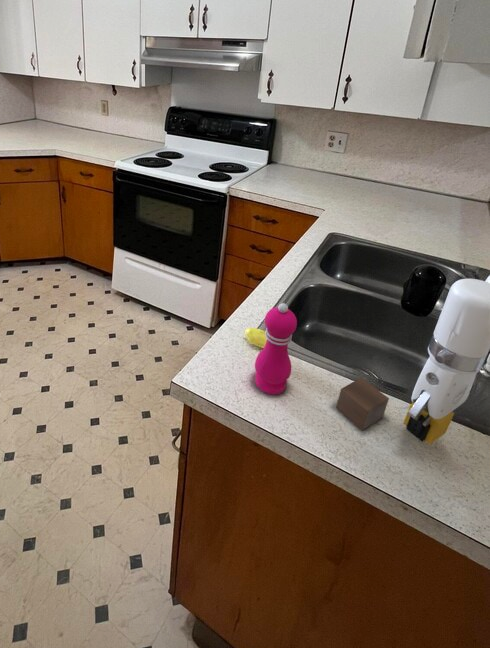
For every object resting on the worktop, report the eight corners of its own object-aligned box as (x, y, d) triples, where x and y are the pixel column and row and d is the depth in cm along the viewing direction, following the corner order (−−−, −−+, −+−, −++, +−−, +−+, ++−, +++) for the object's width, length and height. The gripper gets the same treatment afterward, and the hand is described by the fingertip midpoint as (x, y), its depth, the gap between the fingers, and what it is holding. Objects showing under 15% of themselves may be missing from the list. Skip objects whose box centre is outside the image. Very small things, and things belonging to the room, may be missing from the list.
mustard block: (419, 412, 80) (426, 393, 78) (445, 432, 76) (454, 413, 74) (402, 423, 78) (410, 404, 76) (429, 444, 74) (438, 424, 72)
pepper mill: (245, 376, 90) (256, 298, 81) (272, 366, 93) (285, 289, 84) (267, 401, 84) (281, 320, 75) (295, 389, 87) (312, 309, 78)
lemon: (269, 357, 95) (272, 344, 93) (240, 340, 100) (242, 327, 98) (279, 348, 98) (282, 335, 96) (250, 332, 103) (252, 319, 101)
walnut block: (356, 395, 86) (361, 377, 84) (382, 417, 81) (389, 398, 79) (335, 407, 83) (340, 388, 81) (362, 430, 78) (368, 411, 76)
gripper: (450, 385, 63) (416, 466, 70) (508, 347, 70) (471, 424, 78) (403, 354, 68) (376, 432, 76) (460, 322, 76) (431, 395, 84)
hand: (424, 427), depth 77 cm, fingers closed on mustard block, 5 cm apart
